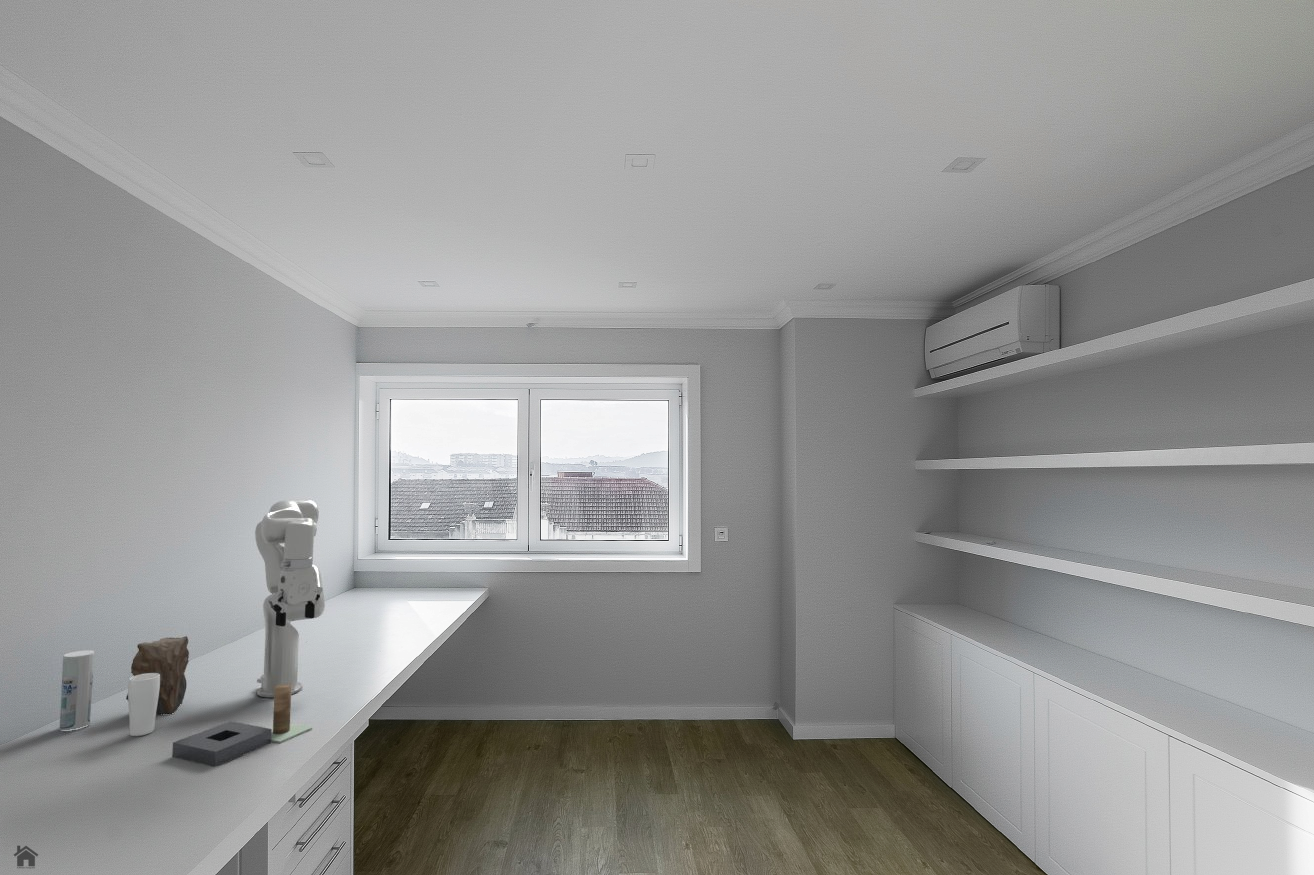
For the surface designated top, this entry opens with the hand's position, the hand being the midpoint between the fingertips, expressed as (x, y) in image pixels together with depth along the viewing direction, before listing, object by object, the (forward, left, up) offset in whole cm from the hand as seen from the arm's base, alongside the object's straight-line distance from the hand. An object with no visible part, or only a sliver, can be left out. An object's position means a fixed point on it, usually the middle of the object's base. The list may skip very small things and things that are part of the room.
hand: (295, 621), depth 192 cm
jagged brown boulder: (-38, -12, -27) cm, 48 cm away
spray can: (-46, -29, -27) cm, 61 cm away
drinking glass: (-25, -25, -27) cm, 44 cm away
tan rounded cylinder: (+9, -11, -26) cm, 30 cm away
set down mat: (+9, -11, -27) cm, 30 cm away
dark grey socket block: (+5, -24, -27) cm, 36 cm away
